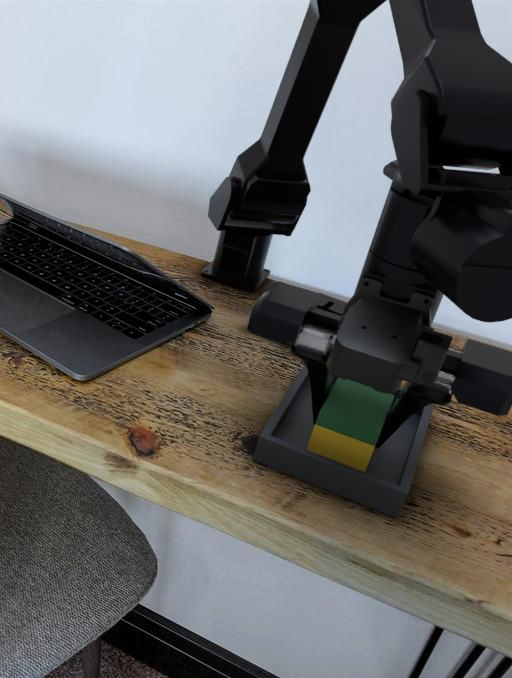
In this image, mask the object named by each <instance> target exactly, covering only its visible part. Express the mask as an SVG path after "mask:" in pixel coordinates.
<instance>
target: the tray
mask: <svg viewBox="0 0 512 678" xmlns="http://www.w3.org/2000/svg"><path fill="white" fill-rule="evenodd" d="M337 379H338V377H336V376H334V378H333V382H332V387H331V390H332V388H333V386H334V384H335V382H336V380H337ZM348 380H349V379H348ZM351 381H352V380H351ZM354 382H355V381H354ZM357 383H358V382H357ZM360 384H361V383H360ZM362 385H364V384H362ZM365 386H367V385H365ZM368 387H370V386H368ZM403 387H404V386H402V385H400V388H399V389H398V390H397V391H396V392H394V393H389V394H392V395H394V396H395V397H394V399H393V402H392V404H391V407H390V409H391V408H392V406H393V404H394V402H395V401H396V399H397V397H398V395H399V394H400V392H401V390H402V388H403ZM371 388H372V387H371ZM330 392H331V391H330ZM435 405H436V404H431V405H428V406H425V407H423V408H421V409H420V410H419V411H417V412H416V413H415V414H413V415H412V416H411V417H409V418H408V419H407V420H406V421H405V422H404V423H403V424H402V425H401V426H400V427H399V428H398V429H397V430H396V431H395V432H394V433H393V434H392V435H391V436H390V437H389V439H388V440H387V441H386V442H385V443H384V444H383V445H382V446H381V447H380V448H379V449H377V448H374V450H373V453H372V455H371V458H370V460H369V463H368V466H367V468H366V471H365V472H363V471H361V470H358V469H355V468H353V467H350V466H348V465H345V464H343V463H340V462H337V461H335V460H332V459H330V458H327V457H325V456H322V455H320V454H317V453H314V452H312V451H309V450H307V446H308V444H309V441H310V438H311V435H312V432H313V429H314V426H315V425H314V424H313V411H312V397H311V385H310V379H309V375H308V370H307V367H306V365H305V364H304V363H303V365H302V367H301V369H300V371H299V372H298V374H297V375H296V377H295V379H294V380H293V382H292V384H291V385H290V387H289V388H288V390H287V391H286V393H285V394H284V396H283V397H282V399H281V401H280V403H279V404H278V406H277V407H276V409H275V411H274V412H273V413H272V415H271V417H270V418H269V420H268V422H267V423H266V425H265V426H264V428H263V429H262V431H261V432H260V435H259V436H258V439H257V443H256V445H255V449H254V453H253V455H252V459H251V460H252V461H254V462H257V463H259V464H261V465H264V466H265V467H266V466H267V467H268V468H271V469H273V470H276V471H278V472H281V473H284V474H285V475H287V476H290V477H294V478H296V479H298V480H301V481H303V482H306V483H308V484H311V485H312V486H315V487H317V488H320V489H323V490H325V491H328V492H330V493H332V494H335V495H338V496H340V497H343V498H345V499H348V500H349V501H352V502H355V503H358V504H359V505H362V506H364V507H367V508H370V509H371V510H374V511H377V512H380V513H382V514H384V515H387V516H389V517H392V518H394V519H398V518H399V516H400V513H401V511H402V509H403V506H404V504H405V501H406V500H407V498H408V495H409V492H410V488H411V486H412V483H413V478H414V475H415V473H416V469H417V465H418V462H419V459H420V456H421V452H422V448H423V444H424V443H425V439H426V435H427V432H428V429H429V427H430V426H429V425H430V421H431V418H432V416H433V412H434V409H435ZM389 411H390V410H389ZM388 413H389V412H388Z"/></svg>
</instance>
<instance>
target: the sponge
mask: <svg viewBox="0 0 512 678" xmlns="http://www.w3.org/2000/svg"><path fill="white" fill-rule="evenodd" d="M394 397H395V396H394V395H392V394H389V393H388V394H387V393H381V392H378V391H375V390H374V389H373V388H371V387H368V386H365V385H362V384H360V383H357V382H354V381H351V380H348V379H347V380H343V379H340V378H338V379H337V380H336V382H335V384H334V386H333V388H332V390H331V392H330V393H329V395H328V397H327V399H326V401H325V403H324V405H323V406H322V408H321V410H320V412H319V415H318V418H317V421H316V424H315V426H314V429H313V432H312V435H311V438H310V441H309V444H308V446H307V450H309V451H312V452H314V453H317V454H320V455H322V456H325V457H327V458H330V459H332V460H335V461H337V462H340V463H343V464H345V465H348V466H350V467H353V468H355V469H358V470H361V471H363V472H365V471H366V468H367V466H368V463H369V460H370V458H371V455H372V453H373V450H374V448H375V445H376V443H377V440H378V438H379V435H380V433H381V430H382V428H383V425H384V422H385V420H386V417H387V415H388V412H389V410H390V407H391V404H392V402H393V399H394Z"/></svg>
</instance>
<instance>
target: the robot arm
mask: <svg viewBox="0 0 512 678" xmlns="http://www.w3.org/2000/svg"><path fill="white" fill-rule="evenodd" d="M387 1H388V2H389V9H390V12H391V17H392V22H393V26H394V30H395V34H396V39H397V43H398V48H399V53H400V57H401V60H402V61H401V62H402V70H403V78H402V79H403V80H402V81H401V82H400V84H399V86H398V88H397V90H396V92H395V93H394V95H393V96H392V98H391V100H390V112H391V120H390V135H391V141H392V144H393V149H394V154H395V157H396V159H395V160H392V161H390V162H389V163H387V164H386V165H384V167H383V169H382V174H383V175H384V176H385V177H387V178H388V179H390V180H391V183H390V187H389V190H388V193H387V195H386V198H385V201H384V204H383V207H382V210H381V213H380V216H379V219H378V221H377V225H376V228H375V231H374V234H373V237H372V240H371V243H370V245H369V248H368V251H367V255H366V256H365V260H364V262H363V266H362V269H361V272H360V275H359V278H358V280H357V284H356V287H355V289H354V292H353V295H352V296H351V297H350V298H349V300H348V302H346V303H347V304H346V306H345V308H344V311H343V314H342V316H340V315H337V314H334V313H330V312H327V311H324V310H321V309H317V306H318V303H319V300H320V294H319V293H320V292H315V291H312V290H309V289H305V288H302V287H299V286H296V285H292V284H290V283H286V282H283V281H277V282H275V283H273V284H271V285H270V286H268V288H267V289H266V290H265V291H264V292H263V293H262V294H261V296H260V297H259V298H258V299H257V300H256V301H255V303H254V305H253V307H252V310H251V313H250V316H249V319H248V323H247V327H246V329H247V331H248V330H249V331H248V332H250V334H252V335H255V336H259V337H262V338H265V339H267V340H269V339H270V340H269V341H272V340H273V341H272V342H274V341H276V342H275V343H277V342H279V343H282V344H285V343H288V342H290V341H292V340H294V339H296V341H295V342H294V343H293V345H292V346H291V348H289V351H290V354H291V355H292V356H294V357H295V358H298V359H300V360H301V361H302V363H303V365H304V364H305V365H306V367H307V370H308V375H309V379H310V385H311V397H312V411H313V424H314V425H315V424H316V421H317V418H318V415H319V412H320V410H321V408H322V406H323V405H324V403H325V401H326V399H327V397H328V395H329V393H330V391H331V387H332V382H333V378H334V376H336V377H338V378H340V379H343V380H347V379H349V380H352V381H355V382H358V383H361V384H364V385H367V386H370V387H372V388H373V389H374V390H375V391H378V392H381V393H387V394H388V393H394V392H396V391H397V390H398V389H399V388H400V386H402V383H403V381H404V382H405V383H404V385H403V386H402V387H403V388H402V390H401V392H400V394H399V395H398V397H397V399H396V401H395V402H394V404H393V406H392V408H391V409H390V411H389V413H388V415H387V417H386V420H385V422H384V425H383V428H382V430H381V433H380V435H379V438H378V440H377V443H376V445H375V448H377V449H379V448H380V447H381V446H382V445H383V444H384V443H385V442H386V441H387V440H388V439H389V437H390V436H391V435H392V434H393V433H394V432H395V431H396V430H397V429H398V428H399V427H400V426H401V425H402V424H403V423H404V422H405V421H406V420H407V419H408V418H409V417H411V416H412V415H413V414H415V413H416V412H417V411H419V410H420V409H421V408H423V407H425V406H428V405H431V404H435V405H436V406H439V407H447V406H449V405H450V404H451V402H452V400H453V397H454V398H455V400H456V402H457V403H459V404H461V405H464V406H467V407H469V408H472V409H476V410H479V411H481V412H485V413H488V414H490V415H494V416H496V417H503V416H504V417H505V416H506V417H507V416H508V415H509V413H510V411H511V408H512V351H510V350H508V349H505V348H504V349H503V348H500V347H497V346H494V345H491V344H487V343H483V342H480V341H477V340H474V339H471V338H467V339H466V340H465V343H464V345H463V347H462V350H461V351H460V350H456V349H453V348H451V347H450V346H451V344H452V342H453V339H454V338H453V336H452V335H449V334H446V333H443V332H439V331H436V330H435V328H434V327H433V322H434V320H435V318H436V315H437V312H438V310H439V307H440V305H441V302H442V300H443V297H444V296H445V297H446V298H447V299H448V300H449V301H450V302H451V303H453V305H454V306H456V307H457V308H458V309H459V310H460V311H461V312H463V314H465V315H466V316H468V317H469V318H471V319H472V320H476V321H479V322H482V323H501V322H504V321H507V320H511V319H512V62H511V61H510V60H508V59H507V58H506V57H505V56H503V54H501V53H499V52H498V51H497V50H495V48H493V47H492V46H490V45H489V44H488V43H487V42H486V39H485V38H484V36H483V34H482V31H481V28H480V24H479V20H478V17H477V13H476V10H475V7H474V2H473V0H309V2H308V7H307V9H306V13H305V15H304V18H303V20H302V23H301V26H300V28H299V29H300V30H299V31H298V34H297V37H296V40H295V43H294V45H293V48H292V51H291V54H290V57H289V59H288V62H287V64H286V67H285V69H284V72H283V75H282V78H281V80H280V83H279V86H278V89H277V92H276V94H275V97H274V99H273V102H272V105H271V108H270V110H269V113H268V116H267V119H266V121H265V124H264V127H263V129H262V132H261V135H260V137H259V138H258V140H257V141H255V142H254V143H252V144H251V145H250V146H248V147H247V148H246V149H245V150H244V151H243V152H241V153H239V155H237V156H236V159H235V161H234V163H233V165H232V168H231V170H230V172H229V174H228V176H225V178H224V179H223V181H222V182H221V183H220V184H219V186H218V187H217V188H216V189H215V191H214V192H213V194H212V195H210V198H209V203H208V212H207V217H208V219H209V220H210V221H211V223H212V225H213V227H214V228H215V230H216V231H219V236H218V239H217V244H216V248H215V252H214V256H213V260H212V261H211V262H209V263H208V264H207V265H206V266H205V267H204V268H203V269H202V270H201V272H200V275H201V276H203V277H205V278H209V279H212V280H215V281H218V282H221V283H224V284H228V285H230V286H234V287H237V288H239V289H240V288H241V289H243V290H246V291H250V292H256V291H258V289H259V288H260V287H261V286H262V284H264V282H265V281H266V280H267V279H268V277H269V276H271V272H272V271H271V270H270V269H267V268H265V265H266V262H267V257H268V254H269V251H270V247H271V243H272V240H273V236H274V235H275V236H276V235H277V236H284V237H292V234H293V232H294V231H295V229H296V227H297V225H298V223H299V221H300V218H301V217H302V214H303V212H304V211H305V208H306V206H307V203H308V197H309V195H310V193H311V192H312V189H311V183H310V181H309V177H308V173H307V169H306V165H305V162H304V160H305V156H306V154H307V151H308V149H309V146H310V143H311V142H312V139H313V137H314V134H315V132H316V130H317V127H318V124H319V122H320V121H321V118H322V116H323V115H322V114H323V112H324V111H325V108H326V106H327V103H328V101H329V98H330V96H331V94H332V91H333V89H334V86H335V84H336V82H337V80H338V77H339V75H340V72H341V69H342V67H343V65H344V63H345V61H346V59H347V55H348V54H349V50H350V48H351V46H352V44H353V41H354V38H355V36H356V34H357V31H358V29H359V27H360V25H361V22H363V21H364V20H365V19H366V18H367V17H369V16H370V15H371V14H372V13H374V12H375V11H376V10H377V9H379V8H380V7H381V6H382V5H383V4H385V3H386V2H387ZM445 167H450V168H445ZM453 168H460V169H453ZM461 168H462V169H461ZM463 169H473V170H463ZM495 169H498V173H497V172H486V171H491V170H495ZM475 170H484V171H475ZM279 343H278V344H279Z"/></svg>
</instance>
